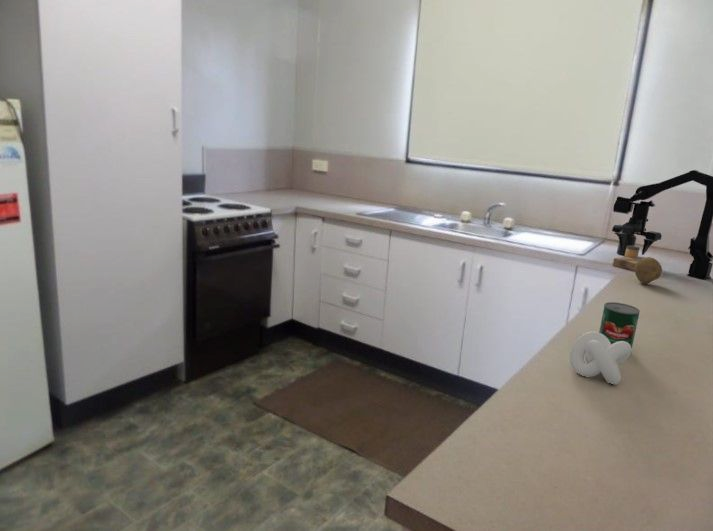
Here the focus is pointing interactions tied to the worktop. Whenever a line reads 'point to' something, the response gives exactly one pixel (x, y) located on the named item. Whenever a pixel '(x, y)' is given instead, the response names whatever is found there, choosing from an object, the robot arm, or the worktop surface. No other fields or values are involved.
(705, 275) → the robot arm
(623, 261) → the walnut plinth
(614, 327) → the canned tomato
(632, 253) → the spice jar
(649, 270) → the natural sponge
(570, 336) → the worktop surface
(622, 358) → the white knot sculpture
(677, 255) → the worktop surface
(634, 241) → the supplement bottle
